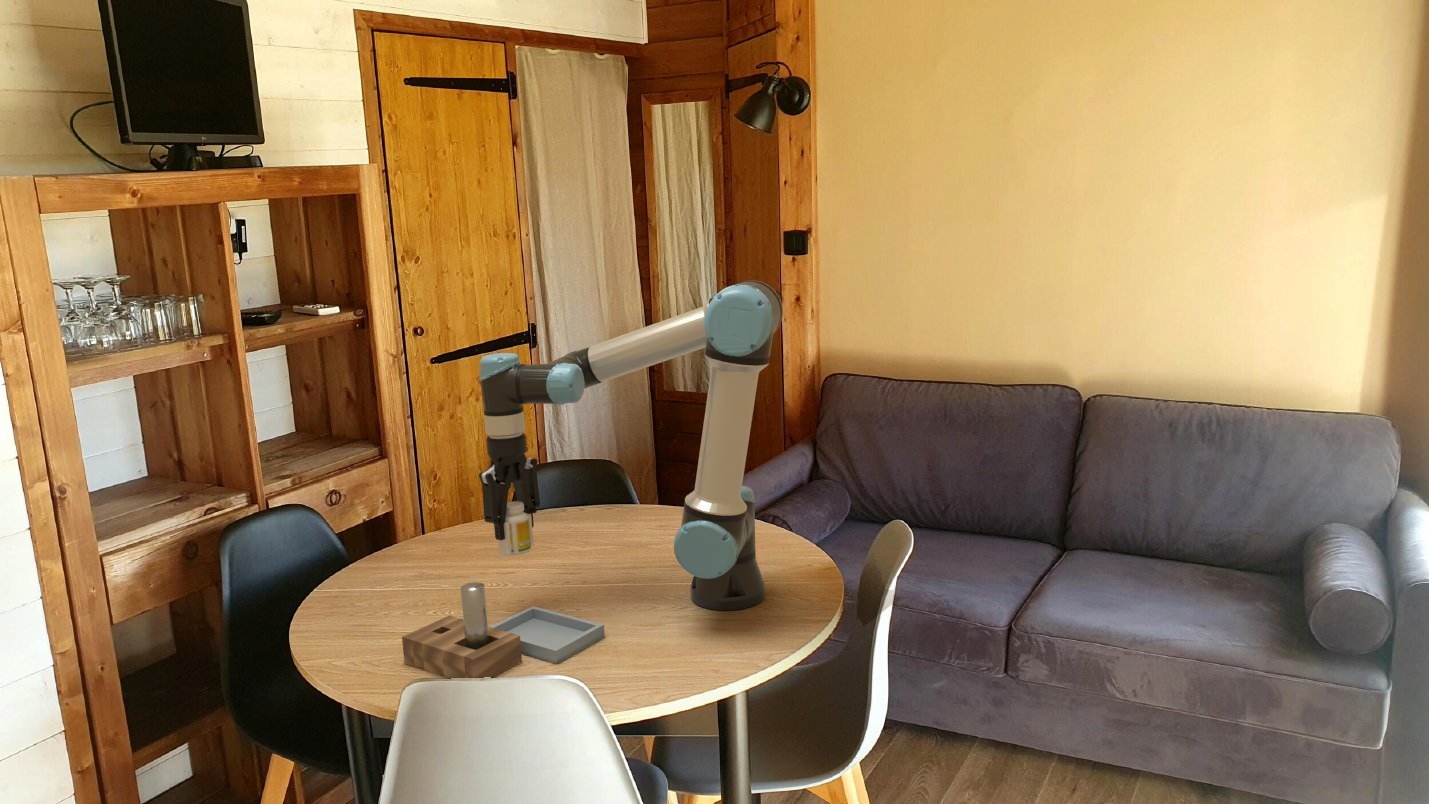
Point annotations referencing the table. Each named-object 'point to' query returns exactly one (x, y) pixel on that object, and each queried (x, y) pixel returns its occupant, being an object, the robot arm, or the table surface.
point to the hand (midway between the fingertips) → (516, 549)
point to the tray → (551, 633)
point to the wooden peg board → (460, 650)
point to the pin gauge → (474, 615)
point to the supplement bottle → (518, 528)
